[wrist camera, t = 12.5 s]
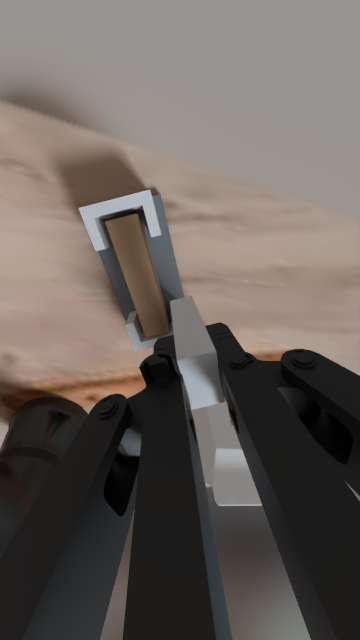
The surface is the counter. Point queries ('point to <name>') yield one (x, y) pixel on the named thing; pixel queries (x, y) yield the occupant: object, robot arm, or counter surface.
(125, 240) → the slat
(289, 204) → the counter surface
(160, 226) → the endcap rail
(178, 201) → the counter surface
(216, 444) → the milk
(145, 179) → the counter surface
